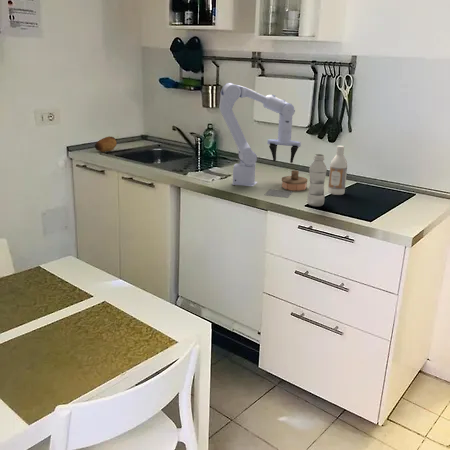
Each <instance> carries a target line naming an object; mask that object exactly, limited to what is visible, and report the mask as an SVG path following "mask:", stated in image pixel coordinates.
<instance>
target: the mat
mask: <svg viewBox="0 0 450 450" xmlns="http://www.w3.org/2000/svg"><path fill="white" fill-rule="evenodd" d="M292 194H293V190H283V189H282V190H281V189H275V188H274V189H273V188H270V189H268V190H267V191H266V192H265V193H264V196H268V197H277V198H286V199H288V198H289V197H290V196H291V195H292Z"/></svg>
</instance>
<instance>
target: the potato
mask: <svg viewBox="0 0 450 450" xmlns="http://www.w3.org/2000/svg"><path fill="white" fill-rule="evenodd" d="M116 147H117V139H116V137H114V136H110V135H109V136H106V137H103V138H100V140H98V141H97V142H96V143H94V148H95V150H97V151H99V153H100V152H101V153H106V152H105V151H109V152H111V151H113V150H114V149H115V148H116Z"/></svg>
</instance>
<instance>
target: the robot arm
mask: <svg viewBox="0 0 450 450" xmlns="http://www.w3.org/2000/svg"><path fill="white" fill-rule="evenodd" d="M219 94H220V96H219V107H218V108H219V111H220V113H221V115H222V118H223V120H224V122H225V125H226V126H227V128H228V131H229V133H230V134H231V137H232V140H233V141H234V143H235V145H236V148H237V152H238V158H239V163H234V165H233V168H232V169H233V170H232V183H231V185H233V186H246V187H254V186H255V185H256V184H258V181H256V164H257V160H258V155H257V153H256V152H255V151H253V150H252V148H251V146H250V144H249V143H248V141H247V139H246V137H245V135H244V132H243V131H242V130H243V129H242V128H241V126H240V124H239V122H238V119H237V117H236V115H235V113H234V110H233V108H234V105H235V103H236V102H237V101H238V100H239V98H241V99H243V98H249V99H251V100H254V101H256V102H259V103H261V104H262V105H263V107H264V108H265V109H267V110H270V111H271V112H274V113H277V114H279V116H278V131H277V139H276V138H275V139H270V138H268V139H267V145H269V149H270V152H271V155H272V161H273V162H276V161H277V151H278V150H277V148H278V145H279V146H289V147H290V160H289V161H290V164H293V162H294V159H295V155H296V153H297V151H298V149H299V148H301V147H302V141H296V140H292V131H293V117H294V114H295V112H296V109H295V106H294V105H293V104H292V103H290V102H287V101H286V99H281V98H279V97H276V95H275V94H267V95H264V94H261V93H259V92H258V91H255V90H254V89H251V88H248V87H246V86H242V85H239V84H234V83H233V82H226V83H225V84H224V85H223V86H222V88H221V90H220V93H219Z"/></svg>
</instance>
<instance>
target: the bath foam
mask: <svg viewBox="0 0 450 450" xmlns="http://www.w3.org/2000/svg"><path fill="white" fill-rule="evenodd" d="M344 151H345V146H344V145H337V146H336V154H335V156H334V157H333V158H332V159H331V162H330V164H329V165H330V166H329V174H328V175H329V176H328V186H327V193H329V194H331V195H333V196H334V195H335V196H342V195H344V194H345V190H346V182H347V172H348V162H347V159H346V157H345V155H344V153H345V152H344Z"/></svg>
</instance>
